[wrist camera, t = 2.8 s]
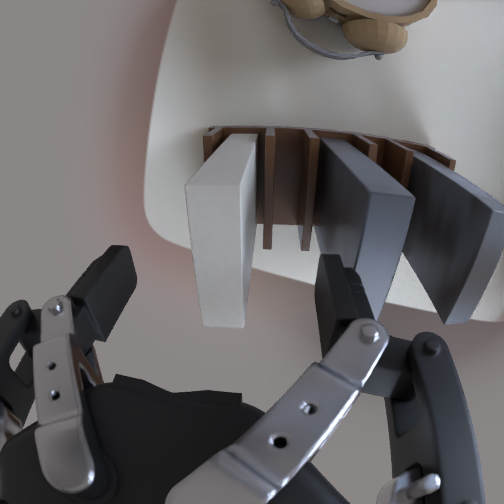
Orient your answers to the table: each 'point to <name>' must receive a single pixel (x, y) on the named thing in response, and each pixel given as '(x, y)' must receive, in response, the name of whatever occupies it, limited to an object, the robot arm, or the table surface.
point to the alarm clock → (360, 22)
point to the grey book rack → (378, 210)
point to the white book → (224, 229)
